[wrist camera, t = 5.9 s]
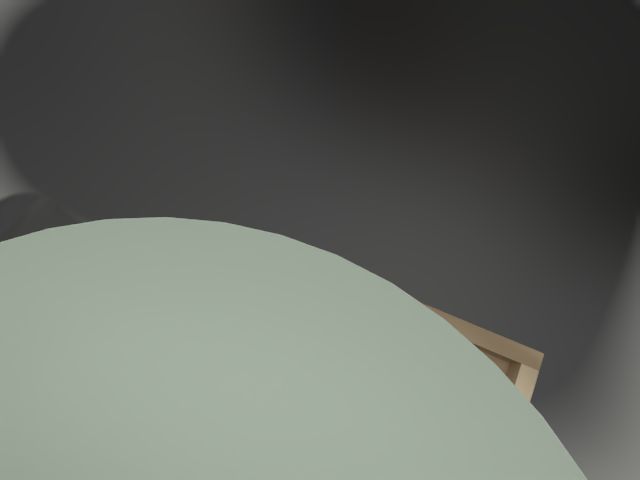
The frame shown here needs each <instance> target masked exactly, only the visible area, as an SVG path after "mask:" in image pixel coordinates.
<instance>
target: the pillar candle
mask: <svg viewBox="0 0 640 480" xmlns="http://www.w3.org/2000/svg"><path fill="white" fill-rule="evenodd" d="M0 480H587V478H586V477H585V476H584V474H583V473H582V471H581V470H580V468H579V467H578V466H577V464H576V463H575V461H574V460H573V459H572V457H571V456H570V454H569V453H568V452H567V450H566V449H565V447H564V446H563V445H562V443H561V442H560V440H559V439H558V437H557V436H556V435H555V433H554V432H553V430H552V429H551V428H550V426H549V425H548V423H547V422H546V420H545V419H544V418H543V416H542V415H541V414H540V413H539V412H538V411H537V410H536V409H535V408H534V406H533V405H532V404H531V403H530V402H529V401H528V400H527V399H526V397H525V396H524V395H523V394H522V393H521V392H520V391H519V390H518V389H517V387H516V386H515V385H514V384H513V383H512V382H511V381H510V380H509V378H508V377H507V376H506V375H505V374H504V373H503V372H502V371H501V370H500V368H499V367H498V366H497V365H496V364H495V363H494V362H493V361H492V360H490V359H489V358H488V357H487V356H486V355H485V354H484V353H483V352H481V351H480V350H479V349H478V348H477V347H476V346H475V345H473V344H472V343H471V342H470V341H469V340H468V339H467V338H465V337H464V336H463V335H462V334H461V333H460V332H459V331H458V330H456V329H455V328H454V327H453V326H452V325H451V324H450V323H448V322H447V321H446V320H445V319H444V318H442V317H441V316H439V315H438V314H436V313H435V312H433V311H432V310H430V309H429V308H428V307H426V306H425V305H423V304H422V303H420V302H419V301H417V300H416V299H414V298H413V297H411V296H410V295H409V294H407V293H406V292H404V291H403V290H401V289H400V288H398V287H397V286H395V285H394V284H392V283H391V282H389V281H387V280H385V279H383V278H381V277H379V276H377V275H375V274H373V273H371V272H369V271H367V270H365V269H363V268H361V267H359V266H358V265H355V264H354V263H351V262H350V261H348V260H346V259H344V258H342V257H340V256H338V255H336V254H332V253H330V252H327V251H324V250H322V249H319V248H316V247H313V246H311V245H308V244H305V243H302V242H299V241H296V240H294V239H291V238H288V237H285V236H283V235H279V234H275V233H270V232H266V231H261V230H257V229H252V228H248V227H243V226H238V225H234V224H230V223H224V222H215V221H204V220H193V219H182V218H170V217H154V218H128V219H106V220H99V221H93V222H87V223H80V224H74V225H68V226H62V227H55V228H49V229H45V230H42V231H38V232H34V233H31V234H27V235H24V236H20V237H17V238H13V239H10V240H6V241H3V242H0Z"/></svg>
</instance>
